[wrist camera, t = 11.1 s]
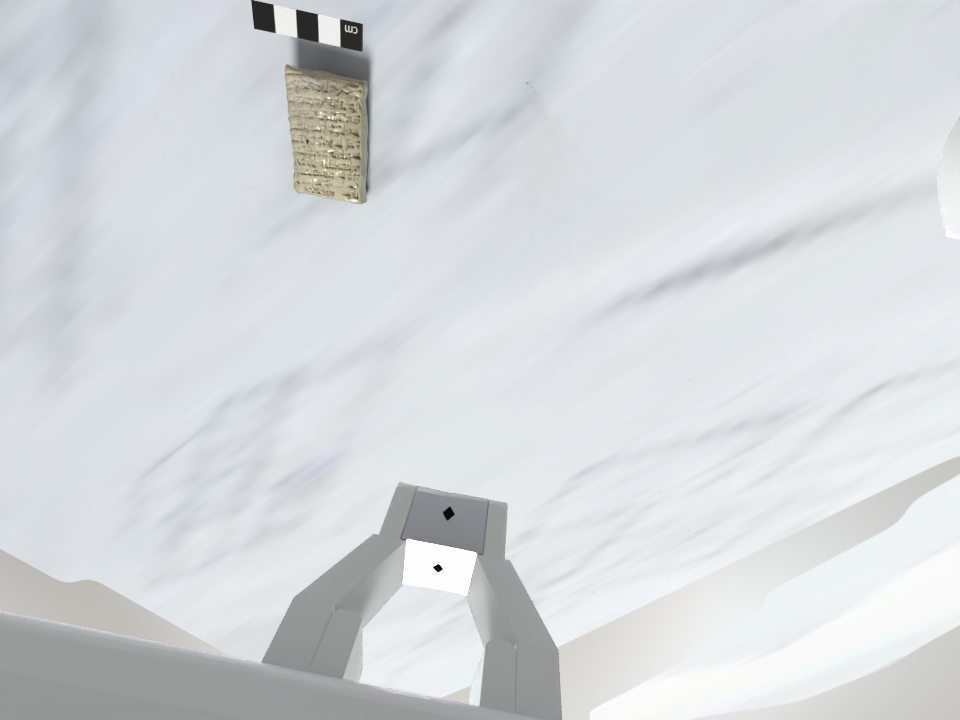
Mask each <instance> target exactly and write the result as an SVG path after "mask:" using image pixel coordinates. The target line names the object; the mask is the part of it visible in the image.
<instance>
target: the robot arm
mask: <svg viewBox="0 0 960 720" xmlns="http://www.w3.org/2000/svg"><path fill="white" fill-rule="evenodd" d="M937 188H938V199H939V206H940V211H941V216H942V221H943V226H944V230H945V231H946V236H947V237H951V238H955V239H959V240H960V118H959V119H958V121H957V122H956V124H955V126H954V127H953V129H952V131H951V133H950V135H949V137H948V139H947V141H946V143H945V146H944V148H943V151H942V154H941V157H940V161H939V166H938V173H937ZM507 508H508V506H507V503H504V502H498V501H493V500H488V499H485V498H479V497H473V496H468V495H462V494H456V493H453V494H452V493H448V492H443V491H439V490H434V489H430V488H425V487H421V486H416V485H411V484H406V483H401V482H400V483H399V484H398V486H397V487H396V490H395V493H394V496H393V498H392V501H391V504H390V506H389V509H388V512H387V515H386V517H385V520H384V523H383V525H382V528H381V531H380V534H379V535H377V534H373V535H372V536H370V537H369V538H368V539H367V540H365V541H364V542H363V543H362V544H360V545H359V546H358V547H357V548H355V549H354V550H353V551H352V552H350V553H349V554H348V555H347V556H345V557H344V558H343V559H342V560H340V561H339V562H338V563H337V564H335V565H334V566H333V567H332V568H330V569H329V570H328V571H327V572H325V573H324V574H323V575H322V576H320V577H319V578H318V579H317V580H315V581H314V582H313V583H312V584H310V585H309V586H308V587H307V588H305V589H304V590H303V591H302V592H300V593H299V594H298V595H297V596H295V597H294V598H293V600H292V602H291V604H290V606H289V608H288V610H287V612H286V614H285V616H284V618H283V620H282V622H281V624H280V626H279V628H278V630H277V632H276V634H275V636H274V638H273V640H272V642H271V644H270V646H269V648H268V650H267V652H266V654H265V656H264V658H263V660H262V662H256V661H251V660H246V659H241V658H236V657H231V656H226V655H221V654H215V653H211V652H206V651H201V650H196V649H191V648H186V647H181V646H176V645H171V644H166V643H161V642H156V641H151V640H146V639H141V638H136V637H131V636H126V635H121V634H116V633H111V632H106V631H101V630H96V629H91V628H85V627H81V626H76V625H71V624H66V623H61V622H56V621H51V620H45V619H41V618H36V617H31V616H26V615H21V614H16V613H11V612H6V611H1V610H0V720H562V711H561V692H560V672H559V653H558V649H557V647H556V645H555V643H554V642H553V640H552V638H551V636H550V634H549V632H548V630H547V629H546V627H545V625H544V623H543V621H542V619H541V617H540V615H539V614H538V612H537V610H536V608H535V606H534V604H533V602H532V601H531V599H530V597H529V595H528V593H527V591H526V589H525V588H524V586H523V584H522V582H521V580H520V578H519V576H518V574H517V573H516V571H515V569H514V567H513V565H512V563H511V561H510V560H505V543H506V525H507ZM403 583H407V584H413V585H419V586H425V587H431V588H437V589H441V590H446V591H450V592H454V593H459V594H463V595H467V596H466V598H467V601H468V603H469V606H470V609H471V612H472V615H473V618H474V620H475V623H476V626H477V629H478V632H479V635H480V637H481V640H482V643H483V646H484V651H483V653H482V656H481V659H480V662H479V665H478V668H477V671H476V674H475V677H474V680H473V683H472V686H471V689H470V696H469V704H464V703H460V702H455V701H450V700H445V699H440V698H435V697H430V696H425V695H420V694H415V693H410V692H405V691H400V690H395V689H391V688H386V687H381V686H376V685H371V684H366V683H361V682H359V679H360V676H361V672H362V629H363V628H364V627H365V626H366V625H367V623H368V622H369V621H370V620H371V619H372V618H373V617H374V616H375V615H376V614H377V612H378V611H379V610H380V609H381V608H382V607H383V606H384V605H385V604H386V603H387V601H388V600H389V599H390V598H391V597H392V596H393V595H394V594H395V593H396V592H397V591H398V589H399V588H400V587H401V586H402V585H403Z"/></svg>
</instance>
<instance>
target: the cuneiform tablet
mask: <svg viewBox="0 0 960 720" xmlns="http://www.w3.org/2000/svg"><path fill="white" fill-rule="evenodd" d="M251 2H252V11H253V21H254V29H258V30H263V31H268V32H272V33H277V34H282V35H287V36H291V37H296V38H301V39H305V40H310V41H315V42H319V43H324V44H329V45H333V46H338V47H343V48H347V49H352V50H357V51H361V52H362V49H363V24H360V23H356V22H351V21H346V20H342V19H337V18H332V17H328V16H323V15H319V14H314V13H309V12H305V11H300V10H295V9H291V8H286V7H281V6H277V5H272V4H267V3H263V2H258V1H254V0H251ZM285 79H286V87H287V101H288V114H289V117H288V119H289V123H290V127H291V129H290V134H291V138H292V146H293V150H294V152H293V157H294V159H295V163H294V171H295V173H294V176H293V178H294V188H295V190H296V192H298V193H303V194H310V195H315V196H320V197H324V198H329V199H335V200H341V201H346V202H351V203H356V204H363V203H365V202H367V194H366V179H367V162H368V150H367V137H368V117H367V106H366V99H367V94H368V83H367V81H365V80H358V79H354V78H349V77H345V76H341V75H337V74H334V73H331V72H327V71H321V70H315V69H305V68H299V67H296V66H290V65H286V66H285Z"/></svg>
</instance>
